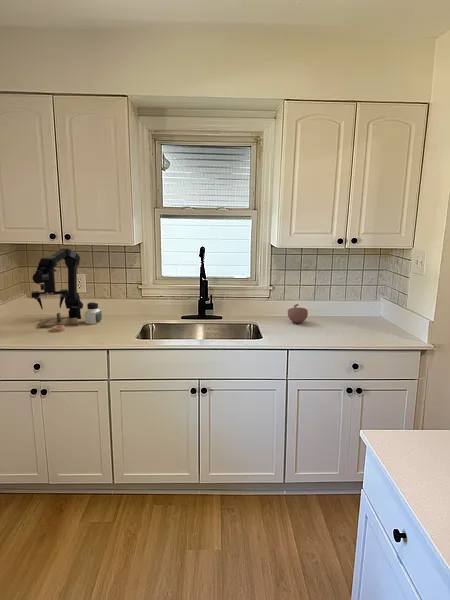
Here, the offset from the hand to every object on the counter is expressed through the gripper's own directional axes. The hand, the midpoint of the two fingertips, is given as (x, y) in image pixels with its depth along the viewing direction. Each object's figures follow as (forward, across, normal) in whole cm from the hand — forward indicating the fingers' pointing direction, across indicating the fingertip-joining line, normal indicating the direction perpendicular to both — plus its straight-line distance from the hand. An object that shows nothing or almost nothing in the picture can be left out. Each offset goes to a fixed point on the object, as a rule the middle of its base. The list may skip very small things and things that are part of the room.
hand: (51, 308), depth 226 cm
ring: (+12, -3, +4) cm, 13 cm away
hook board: (+12, -4, -9) cm, 15 cm away
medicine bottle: (+12, -23, -5) cm, 26 cm away
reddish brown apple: (+12, -134, +46) cm, 142 cm away
